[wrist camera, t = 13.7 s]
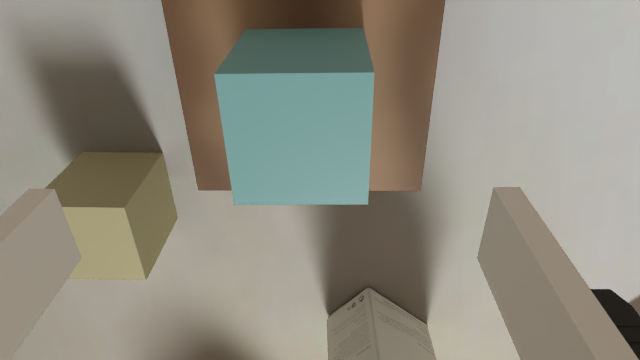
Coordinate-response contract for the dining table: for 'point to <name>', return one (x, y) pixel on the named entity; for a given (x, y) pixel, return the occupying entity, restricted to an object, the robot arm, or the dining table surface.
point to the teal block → (298, 116)
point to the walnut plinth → (314, 12)
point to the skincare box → (376, 331)
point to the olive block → (117, 212)
